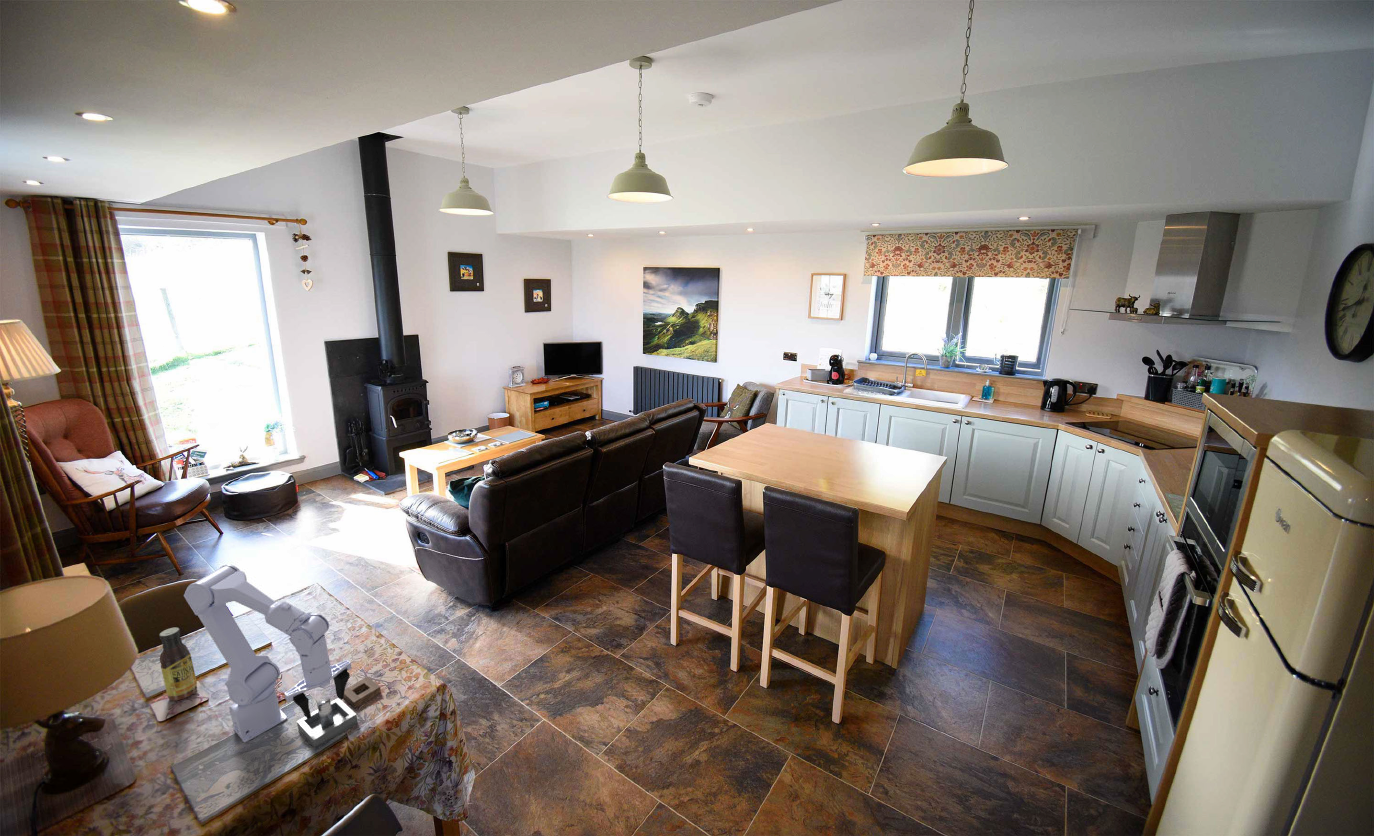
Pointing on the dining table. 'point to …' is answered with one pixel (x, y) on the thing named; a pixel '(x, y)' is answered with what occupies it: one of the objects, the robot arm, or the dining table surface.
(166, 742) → the dining table surface
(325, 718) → the pin
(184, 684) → the sauce bottle
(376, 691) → the frame
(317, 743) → the tray
